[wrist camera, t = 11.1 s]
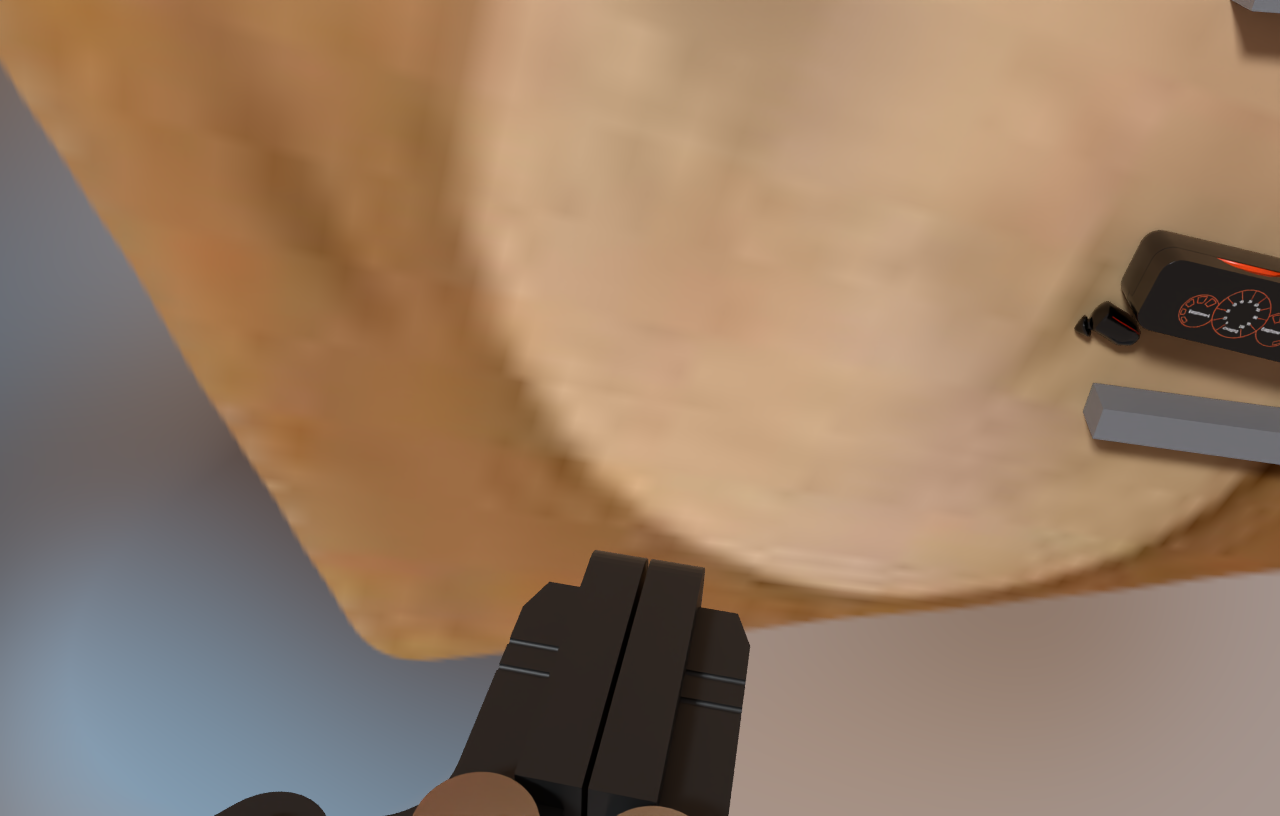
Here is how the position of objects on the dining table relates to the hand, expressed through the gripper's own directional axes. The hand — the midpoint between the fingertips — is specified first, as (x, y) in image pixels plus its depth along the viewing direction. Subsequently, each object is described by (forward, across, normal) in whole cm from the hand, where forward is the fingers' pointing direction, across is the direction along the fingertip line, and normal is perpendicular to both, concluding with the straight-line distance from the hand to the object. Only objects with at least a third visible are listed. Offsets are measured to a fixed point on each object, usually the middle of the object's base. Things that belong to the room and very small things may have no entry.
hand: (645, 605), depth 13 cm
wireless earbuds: (+28, -16, +6) cm, 32 cm away
